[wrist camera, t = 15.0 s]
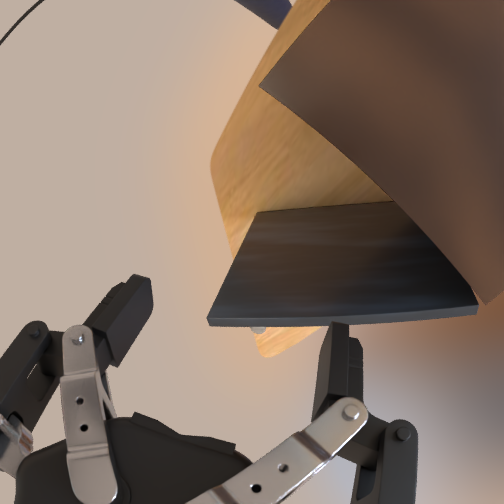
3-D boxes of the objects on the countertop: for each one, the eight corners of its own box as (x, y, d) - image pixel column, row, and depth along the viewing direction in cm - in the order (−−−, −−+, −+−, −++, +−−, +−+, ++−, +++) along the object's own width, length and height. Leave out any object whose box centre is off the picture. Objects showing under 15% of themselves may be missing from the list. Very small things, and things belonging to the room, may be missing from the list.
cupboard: (427, 199, 44) (485, 305, 24) (294, 77, 39) (258, 86, 19) (502, 123, 34) (607, 182, 14) (373, -11, 29) (416, -82, 9)
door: (422, 240, 47) (463, 355, 27) (265, 250, 55) (224, 363, 35) (424, 199, 44) (479, 305, 24) (256, 212, 51) (206, 317, 32)
